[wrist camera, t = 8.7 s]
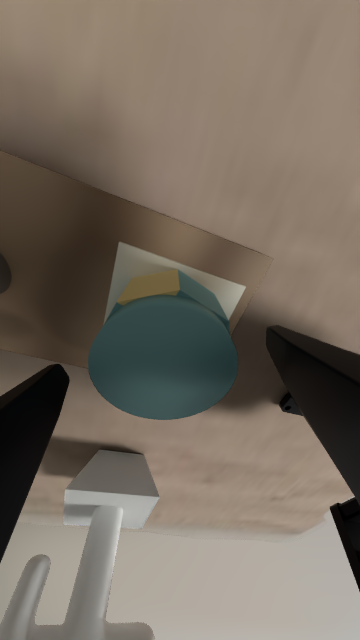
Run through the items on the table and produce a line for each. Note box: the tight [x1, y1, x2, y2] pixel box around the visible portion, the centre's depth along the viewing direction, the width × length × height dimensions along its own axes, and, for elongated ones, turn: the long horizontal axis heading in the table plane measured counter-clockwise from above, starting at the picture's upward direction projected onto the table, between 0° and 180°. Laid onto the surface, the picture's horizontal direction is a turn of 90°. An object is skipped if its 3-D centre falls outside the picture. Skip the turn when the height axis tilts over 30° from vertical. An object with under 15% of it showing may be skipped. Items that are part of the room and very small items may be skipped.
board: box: [0, 151, 273, 368], centre depth 9 cm, size 18×10×5 cm, turn 71°
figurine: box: [0, 450, 159, 640], centre depth 13 cm, size 7×9×15 cm
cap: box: [88, 269, 238, 420], centre depth 9 cm, size 6×6×4 cm
